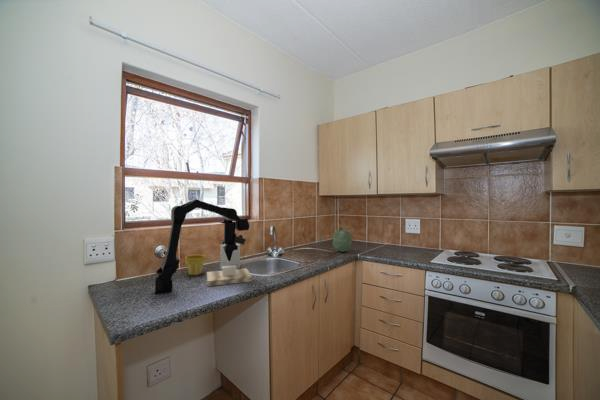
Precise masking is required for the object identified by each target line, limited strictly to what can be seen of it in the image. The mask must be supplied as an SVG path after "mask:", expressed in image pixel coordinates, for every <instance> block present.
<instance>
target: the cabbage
mask: <svg viewBox="0 0 600 400" xmlns="http://www.w3.org/2000/svg"><path fill="white" fill-rule="evenodd" d="M352 244H353V235H352V234H351V232H349V229H348V228H345V229H344V228H342V229H341V228H338V229H335V231H334V233H333V237H332V246H333V248H334V249H335V251H337V252H338V251H340V252H339V253H346V252H348V251H349V250H350V248H351V247H352ZM345 251H346V252H345Z"/></svg>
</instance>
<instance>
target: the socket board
mask: <svg viewBox="0 0 600 400" xmlns="http://www.w3.org/2000/svg"><path fill="white" fill-rule="evenodd" d="M249 281H250V282H253V275H252V273H250V271H249V270H248V268H246V267H245V268H238V269H236V275H229V276H222V270H214V271H207V272H206V285H207V287H212V286H222V285H231V284H232V285H233V284H241V283H248V282H249ZM250 282H249V283H250Z"/></svg>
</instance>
